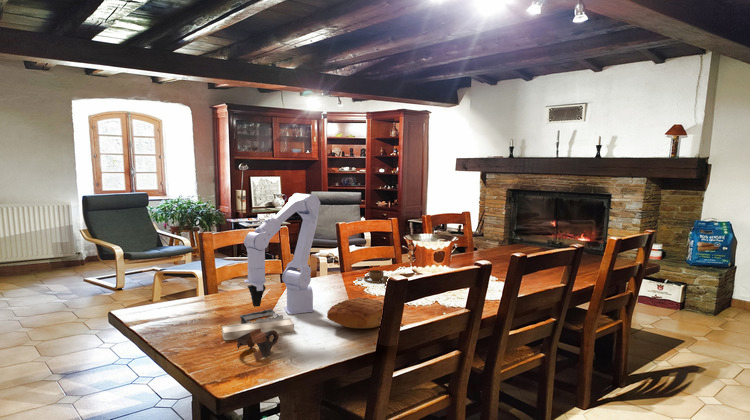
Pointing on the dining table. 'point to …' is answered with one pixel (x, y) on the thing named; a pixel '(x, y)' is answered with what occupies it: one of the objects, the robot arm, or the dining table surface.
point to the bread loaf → (357, 313)
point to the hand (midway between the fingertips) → (256, 306)
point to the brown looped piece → (259, 342)
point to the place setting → (375, 277)
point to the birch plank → (265, 326)
